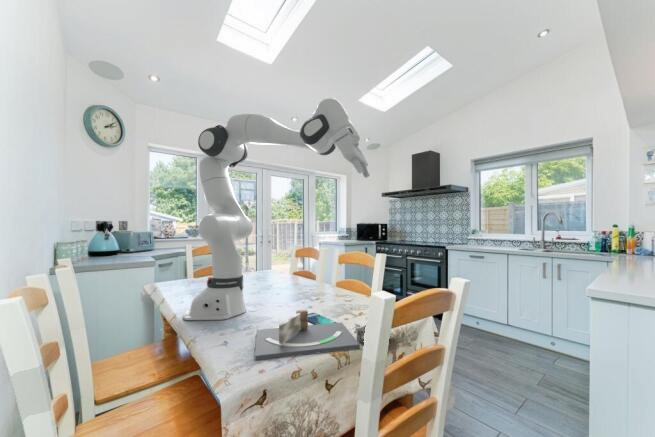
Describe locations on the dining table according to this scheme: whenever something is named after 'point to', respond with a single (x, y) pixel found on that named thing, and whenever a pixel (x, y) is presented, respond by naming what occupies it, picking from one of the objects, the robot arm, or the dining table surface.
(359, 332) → the egg carton
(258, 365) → the dining table surface
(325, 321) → the smartphone
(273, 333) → the arc gauge board
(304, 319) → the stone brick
